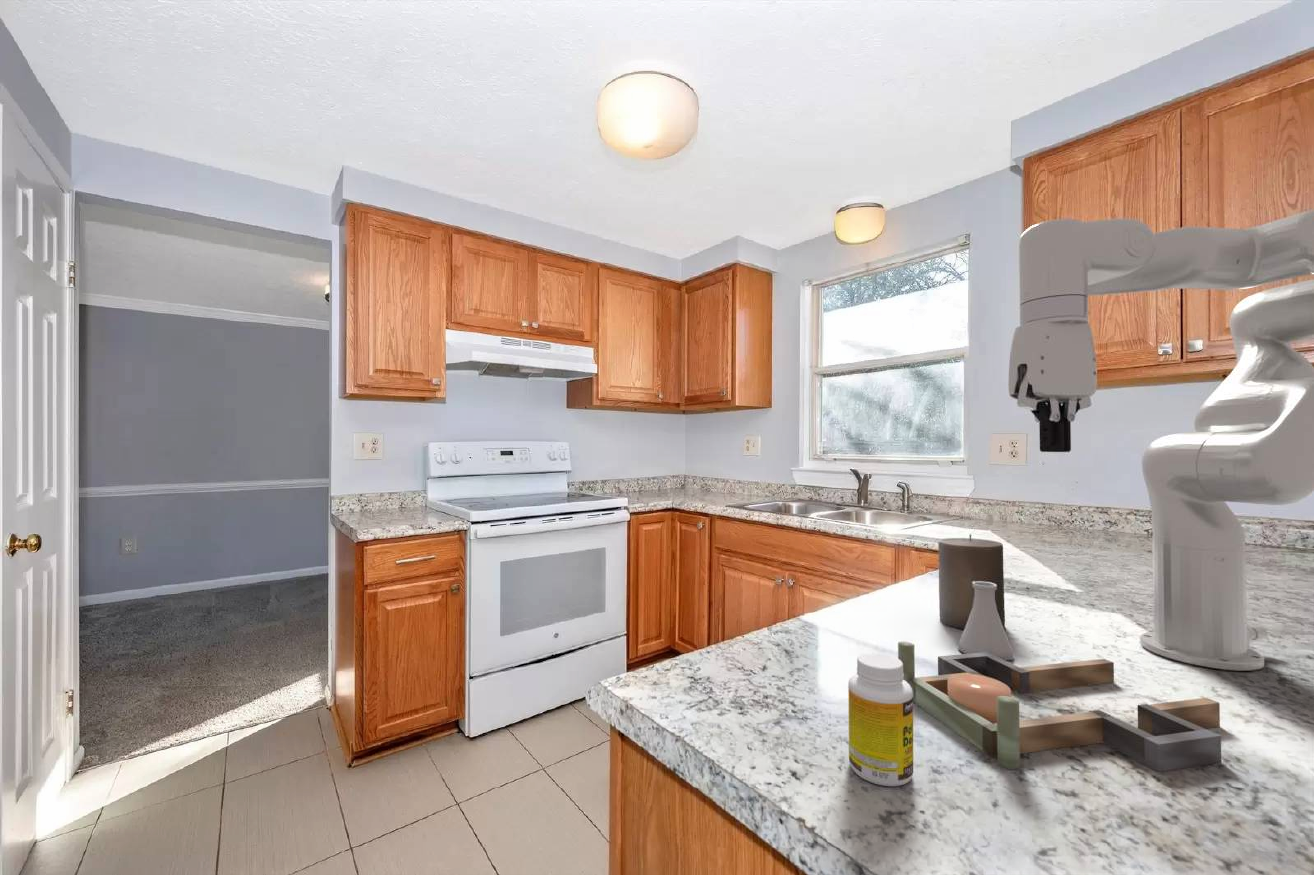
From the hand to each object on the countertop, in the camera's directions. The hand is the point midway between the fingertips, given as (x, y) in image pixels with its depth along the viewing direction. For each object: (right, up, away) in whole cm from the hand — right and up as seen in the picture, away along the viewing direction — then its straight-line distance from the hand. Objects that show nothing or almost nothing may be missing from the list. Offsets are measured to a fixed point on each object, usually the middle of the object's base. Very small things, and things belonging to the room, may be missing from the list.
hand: (1055, 451), depth 75 cm
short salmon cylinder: (-19, -29, -14) cm, 37 cm away
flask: (-6, -30, +5) cm, 31 cm away
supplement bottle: (-33, -29, -23) cm, 50 cm away
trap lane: (-9, -29, -12) cm, 33 cm away
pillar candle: (-1, -30, +19) cm, 35 cm away
